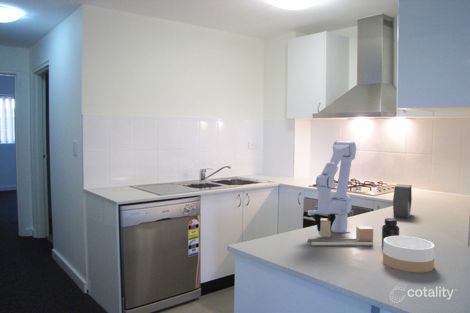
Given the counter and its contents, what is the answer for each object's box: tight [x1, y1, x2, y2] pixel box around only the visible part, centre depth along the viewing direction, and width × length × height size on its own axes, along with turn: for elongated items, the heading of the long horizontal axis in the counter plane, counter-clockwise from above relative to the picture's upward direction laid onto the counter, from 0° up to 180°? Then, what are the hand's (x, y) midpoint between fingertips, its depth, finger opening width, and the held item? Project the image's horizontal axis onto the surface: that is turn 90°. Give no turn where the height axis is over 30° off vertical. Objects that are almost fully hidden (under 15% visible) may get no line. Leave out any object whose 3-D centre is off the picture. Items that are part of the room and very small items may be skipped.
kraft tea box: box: [317, 217, 331, 238], centre depth 172 cm, size 4×6×7 cm
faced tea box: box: [355, 225, 374, 242], centre depth 165 cm, size 4×6×7 cm
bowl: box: [382, 235, 436, 273], centre depth 140 cm, size 17×17×8 cm
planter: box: [392, 183, 413, 219], centre depth 218 cm, size 17×8×21 cm
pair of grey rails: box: [307, 238, 374, 247], centre depth 165 cm, size 8×26×2 cm, turn 91°
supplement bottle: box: [381, 217, 400, 248], centre depth 159 cm, size 7×7×12 cm
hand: (323, 230), depth 172 cm, fingers closed on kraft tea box, 4 cm apart
